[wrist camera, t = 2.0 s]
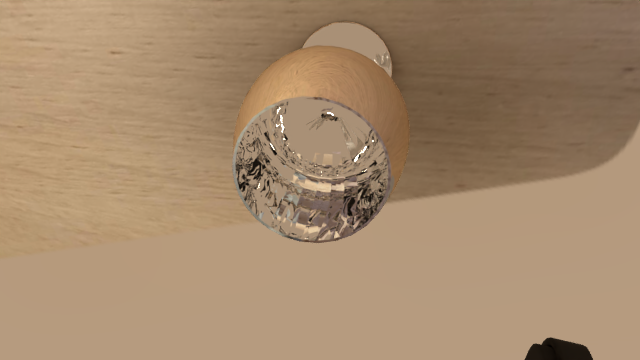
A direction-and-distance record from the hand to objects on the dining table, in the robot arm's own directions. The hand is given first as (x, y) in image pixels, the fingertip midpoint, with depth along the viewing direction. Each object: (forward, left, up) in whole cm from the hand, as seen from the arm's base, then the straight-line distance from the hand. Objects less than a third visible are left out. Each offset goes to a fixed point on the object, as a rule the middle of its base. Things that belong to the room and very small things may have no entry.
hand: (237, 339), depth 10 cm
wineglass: (0, +1, -20) cm, 20 cm away
